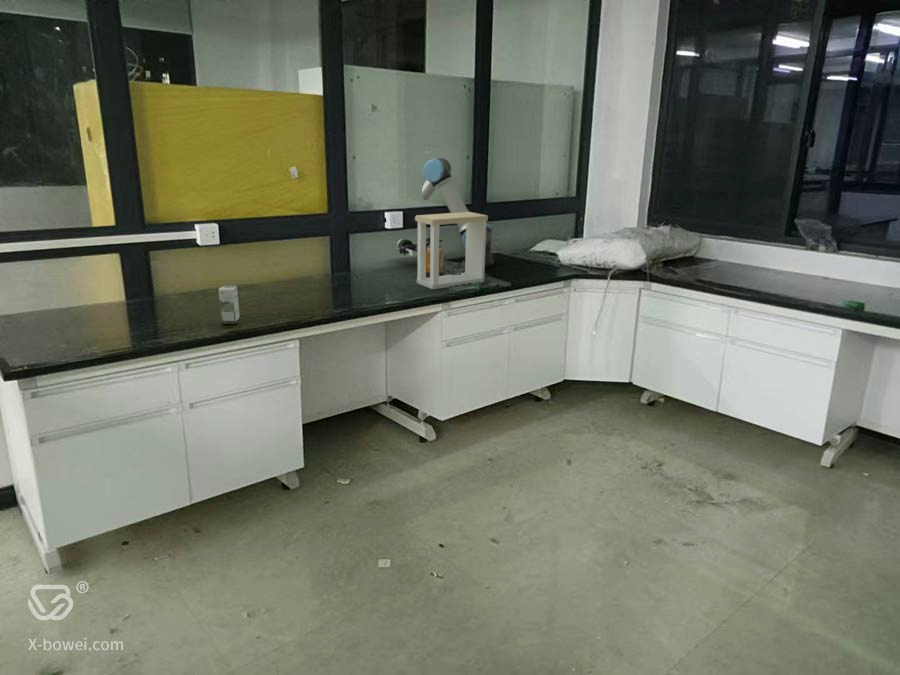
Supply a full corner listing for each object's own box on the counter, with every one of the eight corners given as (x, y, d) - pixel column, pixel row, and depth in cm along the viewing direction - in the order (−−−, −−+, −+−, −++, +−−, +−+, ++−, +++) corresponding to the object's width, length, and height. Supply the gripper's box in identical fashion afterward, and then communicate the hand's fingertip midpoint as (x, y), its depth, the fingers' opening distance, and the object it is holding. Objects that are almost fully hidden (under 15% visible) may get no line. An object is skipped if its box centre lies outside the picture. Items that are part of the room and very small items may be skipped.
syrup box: (240, 320, 253) (237, 285, 248) (236, 325, 247) (232, 289, 243) (226, 320, 253) (222, 285, 248) (221, 325, 247) (217, 289, 243)
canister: (442, 277, 330) (443, 239, 323) (421, 277, 330) (421, 238, 324) (443, 273, 338) (443, 236, 332) (422, 273, 338) (422, 236, 332)
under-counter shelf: (467, 275, 335) (469, 211, 324) (485, 281, 323) (487, 215, 312) (415, 282, 318) (415, 215, 308) (432, 289, 306) (432, 219, 295)
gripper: (423, 250, 362) (443, 257, 345) (384, 254, 349) (403, 261, 332) (423, 237, 359) (443, 243, 342) (384, 240, 346) (403, 247, 329)
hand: (423, 252), depth 337 cm, fingers open, 13 cm apart
